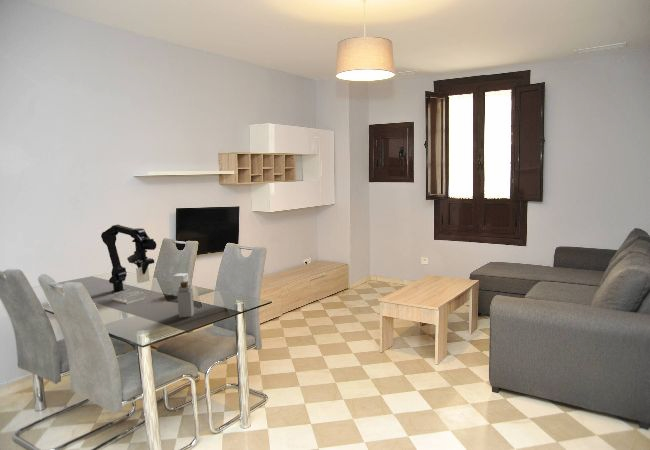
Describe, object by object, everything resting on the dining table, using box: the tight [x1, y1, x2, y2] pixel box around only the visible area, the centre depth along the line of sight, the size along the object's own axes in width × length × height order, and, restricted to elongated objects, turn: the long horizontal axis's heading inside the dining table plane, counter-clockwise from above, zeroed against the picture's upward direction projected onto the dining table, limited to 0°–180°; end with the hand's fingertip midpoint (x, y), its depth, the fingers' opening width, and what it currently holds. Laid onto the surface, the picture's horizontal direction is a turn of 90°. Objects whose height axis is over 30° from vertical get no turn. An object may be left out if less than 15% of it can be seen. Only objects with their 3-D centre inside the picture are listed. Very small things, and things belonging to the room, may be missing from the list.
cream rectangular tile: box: [135, 266, 150, 284], centre depth 308 cm, size 2×7×9 cm, turn 143°
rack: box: [112, 288, 146, 305], centre depth 298 cm, size 15×12×4 cm
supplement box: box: [172, 272, 190, 297], centre depth 305 cm, size 7×7×13 cm
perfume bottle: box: [176, 282, 195, 318], centre depth 264 cm, size 7×7×18 cm
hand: (142, 273), depth 308 cm, fingers closed on cream rectangular tile, 2 cm apart
